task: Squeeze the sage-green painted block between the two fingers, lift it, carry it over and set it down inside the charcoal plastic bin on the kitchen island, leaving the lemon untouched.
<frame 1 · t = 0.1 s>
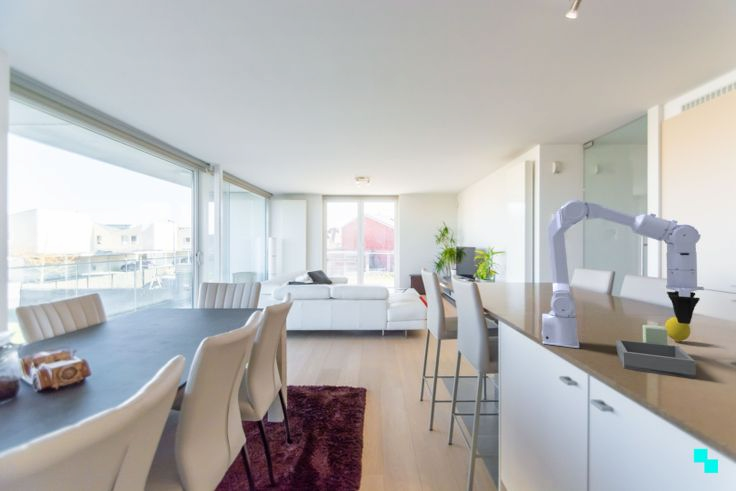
hand: (682, 320, 84), 10 cm above the kitchen island, fingers open, 7 cm apart
lemon: (677, 342, 98), on the kitchen island
bin: (651, 364, 80), on the kitchen island
block: (655, 352, 89), on the kitchen island
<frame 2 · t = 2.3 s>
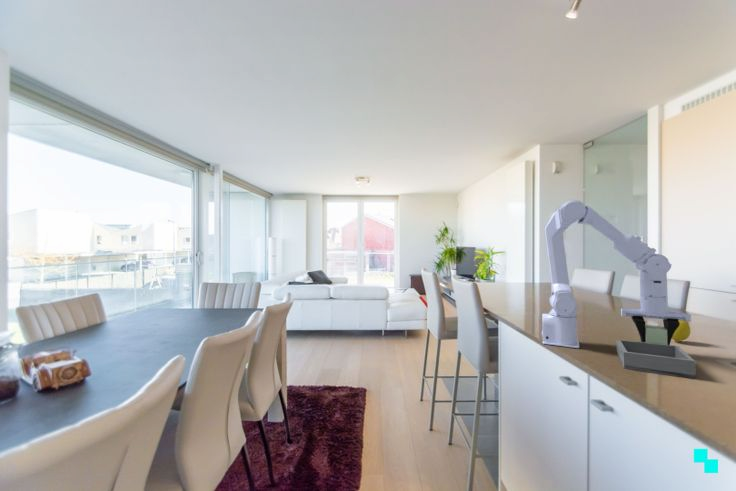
hand: (654, 344, 89), 2 cm above the kitchen island, fingers closed on block, 4 cm apart
block: (655, 352, 89), on the kitchen island, touching gripper
everything else where it was.
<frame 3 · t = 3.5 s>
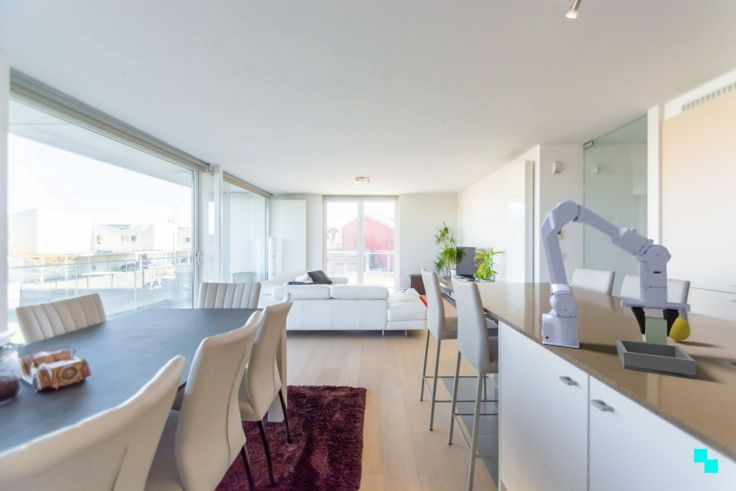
hand: (654, 334, 89), 5 cm above the kitchen island, fingers closed on block, 4 cm apart
block: (654, 342, 89), point 3 cm above the kitchen island, touching gripper
everything else where it was.
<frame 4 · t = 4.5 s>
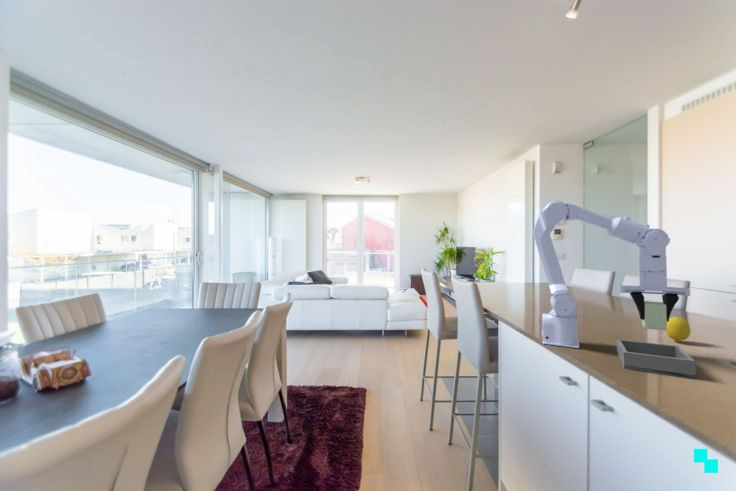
hand: (653, 319, 88), 9 cm above the kitchen island, fingers closed on block, 4 cm apart
block: (654, 327, 88), point 7 cm above the kitchen island, touching gripper
everything else where it was.
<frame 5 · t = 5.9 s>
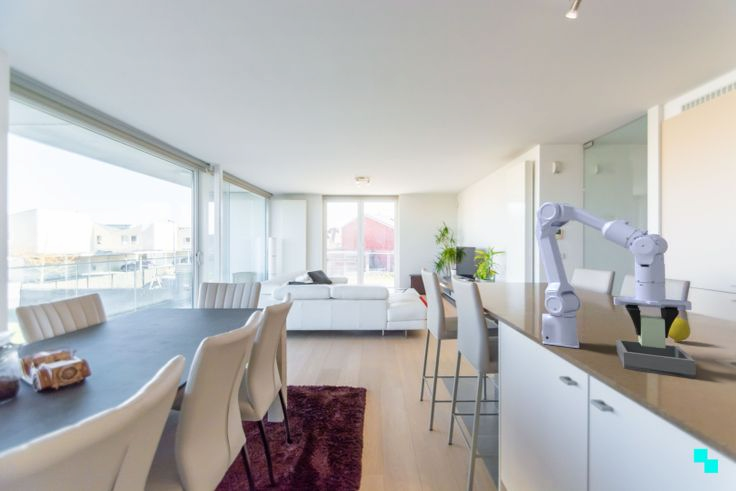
hand: (651, 335, 80), 7 cm above the kitchen island, fingers closed on block, 4 cm apart
block: (651, 344, 80), point 5 cm above the kitchen island, touching gripper
everything else where it was.
when the fingers open (5 cm above the kitchen island, at t = 7.2 s): block drops 2 cm, resting on bin.
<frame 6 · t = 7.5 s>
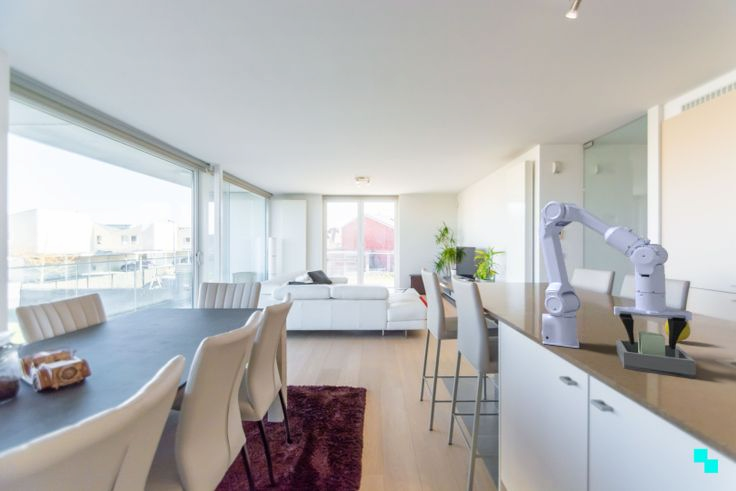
hand: (651, 345, 80), 5 cm above the kitchen island, fingers open, 7 cm apart
block: (651, 361, 80), point 1 cm above the kitchen island, touching bin
everything else where it was.
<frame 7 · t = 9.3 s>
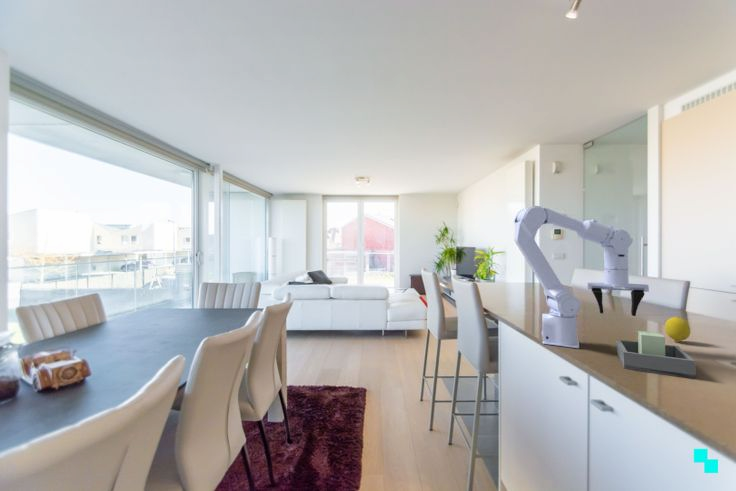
hand: (617, 314, 96), 9 cm above the kitchen island, fingers open, 7 cm apart
nothing on the kitchen island moved.
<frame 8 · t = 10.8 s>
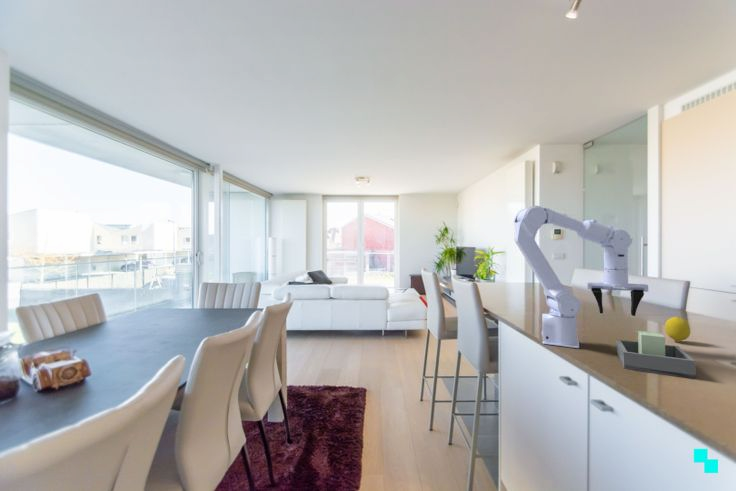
hand: (616, 314, 96), 9 cm above the kitchen island, fingers open, 7 cm apart
nothing on the kitchen island moved.
at the end: block inside the target area on the bin (0.2 cm from its centre), point 0.8 cm above the bin's base; block tilted 0°; the gripper is holding nothing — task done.
